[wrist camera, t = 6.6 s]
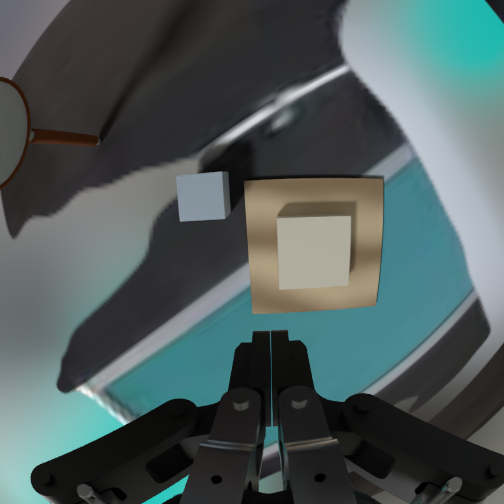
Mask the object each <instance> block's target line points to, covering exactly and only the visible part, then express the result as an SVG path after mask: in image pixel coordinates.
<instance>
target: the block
mask: <svg viewBox="0 0 504 504" xmlns="http://www.w3.org/2000/svg"><path fill="white" fill-rule="evenodd" d="M176 179H177V193H178V205H179V215H180V222H181V221H196V220H213V219H225V218H226V217H227V216H228V215H229V214H230V213H231V207H230V191H229V175H228V172H211V173H200V174H191V175H181V176H176Z"/></svg>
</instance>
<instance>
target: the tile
mask: <svg viewBox="0 0 504 504" xmlns="http://www.w3.org/2000/svg"><path fill="white" fill-rule="evenodd" d="M276 224H277V249H278V279H279V290H284V289H304V288H321V287H336V286H348V282H349V266H350V242H351V216H350V215H348V214H318V215H289V216H276Z"/></svg>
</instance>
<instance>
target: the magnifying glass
mask: <svg viewBox="0 0 504 504" xmlns="http://www.w3.org/2000/svg"><path fill="white" fill-rule="evenodd" d="M30 126H31V121H30V111H29V106H28V103H27V100H26V97H25V95H24V93H23V92H22V90H21V89H20V87H19V86H18V85H17V84H16V83H14V82H13V81H11V80H9V79H7V78H4V77H0V190H1V189H2V188H4V187H5V186H6V185H7V184H8V183H9V182H10V181H11V179H12V178H13V177H14V175H15V174H16V173H17V171H18V169H19V168H20V166H21V164H22V162H23V159H24V157H25V154H26V151H27V147H28V143H51V144H70V145H84V146H96V145H98V144H100V142H101V140H100V139H99V138H98V137H97V136H93V135H86V134H79V133H71V132H63V131H54V130H43V129H31V130H30Z"/></svg>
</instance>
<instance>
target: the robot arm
mask: <svg viewBox="0 0 504 504" xmlns="http://www.w3.org/2000/svg"><path fill="white" fill-rule="evenodd" d="M271 358H272V409H273V426H278V445H279V453H280V462H281V470H282V478H283V491H280V492H276V493H271V494H266V493H261V492H259V477H260V470H261V463H262V456H263V449H264V439H265V436H266V427H271ZM346 466H347V467H349V468H350V469H352V470H353V471H355V472H356V473H358V474H359V475H361V476H362V477H364V478H365V479H367V480H369V481H370V482H372V483H373V484H375V485H377V486H378V487H380V488H382V489H384V490H385V491H387V492H389V493H391V494H392V495H394V496H396V497H398V498H400V499H401V500H403V501H405V502H407V503H409V504H483V502H484V500H485V499H486V498H487V497H488V496H489V495H491V494H492V493H493V492H494V491H496V490H497V489H498V488H499V487H500V486H501V485H503V484H504V455H502V454H499V453H496V452H494V451H491V450H489V449H486V448H484V447H481V446H478V445H476V444H473V443H471V442H469V441H466V440H464V439H462V438H459V437H457V436H455V435H453V434H450V433H448V432H446V431H444V430H441V429H439V428H437V427H435V426H433V425H431V424H429V423H427V422H424V421H422V420H420V419H418V418H416V417H414V416H412V415H410V414H408V413H406V412H404V411H402V410H400V409H398V408H396V407H394V406H392V405H391V404H389V403H387V402H385V401H383V400H381V399H379V398H377V397H375V396H373V395H371V394H366V393H360V394H355V395H352V396H350V397H349V398H347V399H346V400H345V402H338V401H331V400H327V399H325V398H323V397H321V396H320V395H319V394H318V393H317V392H316V391H315V389H314V384H313V379H312V374H311V368H310V363H309V358H308V353H307V348H306V346H305V345H304V344H303V343H302V342H301V341H300V340H296V341H289V338H288V330H273V331H271V352H270V331H253V337H252V342H250V343H240V345H239V346H238V347H237V348H236V349H235V354H234V359H233V366H232V371H231V376H230V382H229V388H228V391H227V392H226V393H225V394H224V395H223V396H222V397H221V400H220V401H219V402H217V403H214V404H211V405H206V406H201V407H197V406H196V405H195V404H194V403H193V402H191V401H189V400H187V399H173V400H169V401H167V402H165V403H164V404H162V405H160V406H159V407H157V408H155V409H153V410H152V411H150V412H148V413H146V414H145V415H143V416H141V417H139V418H137V419H135V420H134V421H132V422H130V423H128V424H126V425H124V426H123V427H121V428H119V429H117V430H115V431H113V432H111V433H109V434H107V435H105V436H103V437H101V438H99V439H97V440H95V441H93V442H91V443H88V444H86V445H85V446H82V447H80V448H78V449H76V450H73V451H71V452H69V453H67V454H64V455H62V456H59V457H57V458H55V459H52V460H50V461H47V462H45V463H42V464H40V465H38V466H36V467H35V468H34V469H33V471H32V473H31V484H32V486H33V488H34V490H35V491H36V492H38V493H39V494H40V495H41V496H43V497H44V498H45V499H47V500H48V501H49V502H50V503H51V504H142V503H143V502H145V501H147V500H149V499H151V498H152V497H154V496H156V495H157V494H159V493H161V492H162V491H164V490H165V489H167V488H169V487H170V486H172V485H174V484H175V483H177V482H178V481H180V480H181V479H183V478H184V477H186V476H187V475H189V477H188V480H187V483H186V485H185V489H184V491H183V494H180V495H177V496H175V497H173V498H171V499H169V500H167V501H166V502H164V503H162V504H381V503H380V502H378V501H376V500H375V499H373V498H372V497H370V496H368V495H366V494H364V493H361V492H359V491H355V490H353V487H352V484H351V480H350V477H349V474H348V470H347V467H346Z"/></svg>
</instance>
